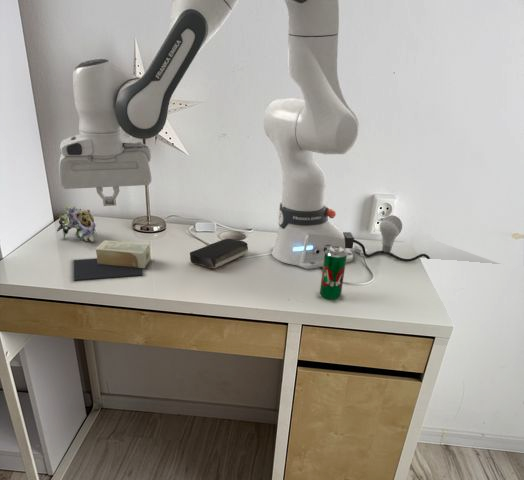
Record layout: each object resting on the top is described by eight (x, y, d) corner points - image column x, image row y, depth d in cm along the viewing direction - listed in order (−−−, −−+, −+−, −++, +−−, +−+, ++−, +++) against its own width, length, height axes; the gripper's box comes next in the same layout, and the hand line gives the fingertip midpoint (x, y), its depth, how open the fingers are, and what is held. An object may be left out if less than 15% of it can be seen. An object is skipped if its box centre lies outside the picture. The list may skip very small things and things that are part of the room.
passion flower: (92, 259, 148) (88, 236, 137) (53, 251, 146) (46, 227, 135) (101, 227, 152) (98, 201, 141) (63, 218, 150) (57, 192, 139)
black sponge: (211, 273, 131) (211, 260, 129) (186, 264, 135) (186, 250, 133) (250, 255, 142) (251, 242, 140) (227, 247, 146) (227, 234, 144)
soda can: (338, 291, 126) (345, 245, 119) (342, 301, 122) (349, 253, 115) (318, 291, 126) (324, 244, 119) (320, 300, 121) (326, 252, 115)
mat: (137, 256, 138) (137, 255, 137) (142, 275, 128) (142, 274, 128) (74, 261, 133) (73, 260, 133) (74, 280, 124) (74, 279, 123)
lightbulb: (387, 259, 145) (395, 221, 139) (370, 252, 149) (377, 214, 143) (400, 254, 148) (408, 217, 142) (383, 247, 152) (390, 211, 146)
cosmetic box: (151, 259, 136) (106, 254, 137) (150, 243, 133) (104, 239, 134) (143, 269, 130) (97, 264, 131) (142, 253, 128) (94, 248, 129)
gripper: (148, 139, 119) (152, 198, 127) (54, 141, 114) (65, 203, 122) (151, 145, 114) (156, 206, 122) (53, 147, 109) (64, 212, 117)
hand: (109, 205), depth 122 cm, fingers closed
